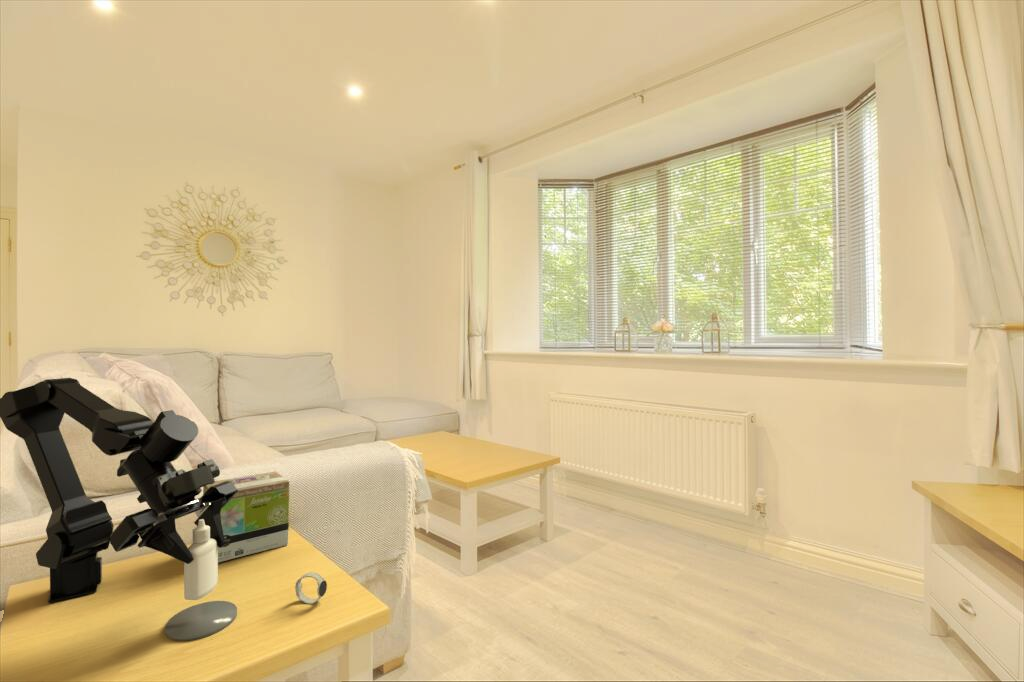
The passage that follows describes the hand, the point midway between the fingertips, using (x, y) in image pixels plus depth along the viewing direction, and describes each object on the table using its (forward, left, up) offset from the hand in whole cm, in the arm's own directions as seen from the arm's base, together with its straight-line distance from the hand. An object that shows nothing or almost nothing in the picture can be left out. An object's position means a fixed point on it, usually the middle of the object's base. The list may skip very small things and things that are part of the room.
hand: (207, 553), depth 80 cm
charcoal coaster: (-1, +1, -11) cm, 11 cm away
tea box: (+9, +27, -12) cm, 31 cm away
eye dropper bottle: (-1, +1, -7) cm, 7 cm away
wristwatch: (+15, -3, -12) cm, 20 cm away
